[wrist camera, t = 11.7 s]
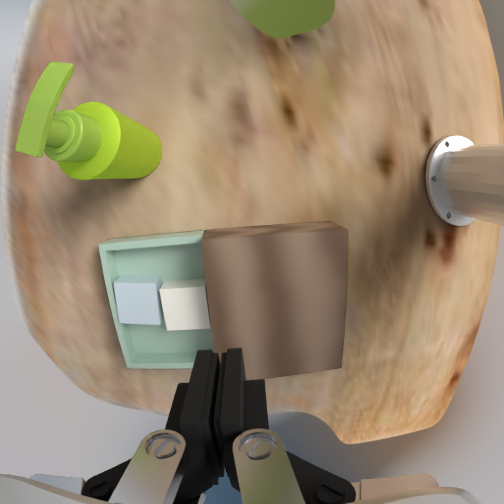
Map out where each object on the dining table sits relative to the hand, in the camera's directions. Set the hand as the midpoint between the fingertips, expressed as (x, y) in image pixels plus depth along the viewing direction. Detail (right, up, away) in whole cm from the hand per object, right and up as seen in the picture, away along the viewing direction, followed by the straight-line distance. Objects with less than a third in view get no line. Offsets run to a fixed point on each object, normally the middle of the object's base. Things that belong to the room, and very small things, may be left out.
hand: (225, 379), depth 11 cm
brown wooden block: (+3, 0, +25) cm, 25 cm away
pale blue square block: (-12, -1, +21) cm, 24 cm away
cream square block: (-6, -1, +24) cm, 25 cm away
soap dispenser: (-12, +16, +20) cm, 29 cm away
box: (-10, -1, +24) cm, 26 cm away
